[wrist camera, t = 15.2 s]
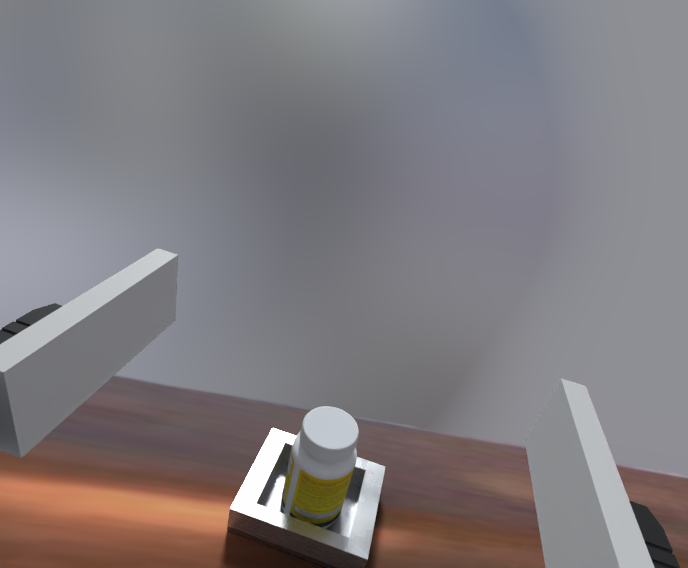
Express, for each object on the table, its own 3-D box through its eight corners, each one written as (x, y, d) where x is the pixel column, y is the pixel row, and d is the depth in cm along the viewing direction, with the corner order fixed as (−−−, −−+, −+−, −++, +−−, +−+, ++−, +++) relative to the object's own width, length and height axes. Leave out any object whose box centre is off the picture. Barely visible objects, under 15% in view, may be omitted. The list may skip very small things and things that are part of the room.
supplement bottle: (352, 515, 35) (378, 440, 31) (301, 545, 32) (322, 465, 28) (319, 468, 38) (338, 394, 34) (269, 491, 35) (284, 413, 31)
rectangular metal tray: (227, 530, 32) (230, 508, 31) (269, 448, 39) (272, 427, 38) (359, 580, 31) (367, 559, 30) (378, 486, 38) (385, 466, 37)
